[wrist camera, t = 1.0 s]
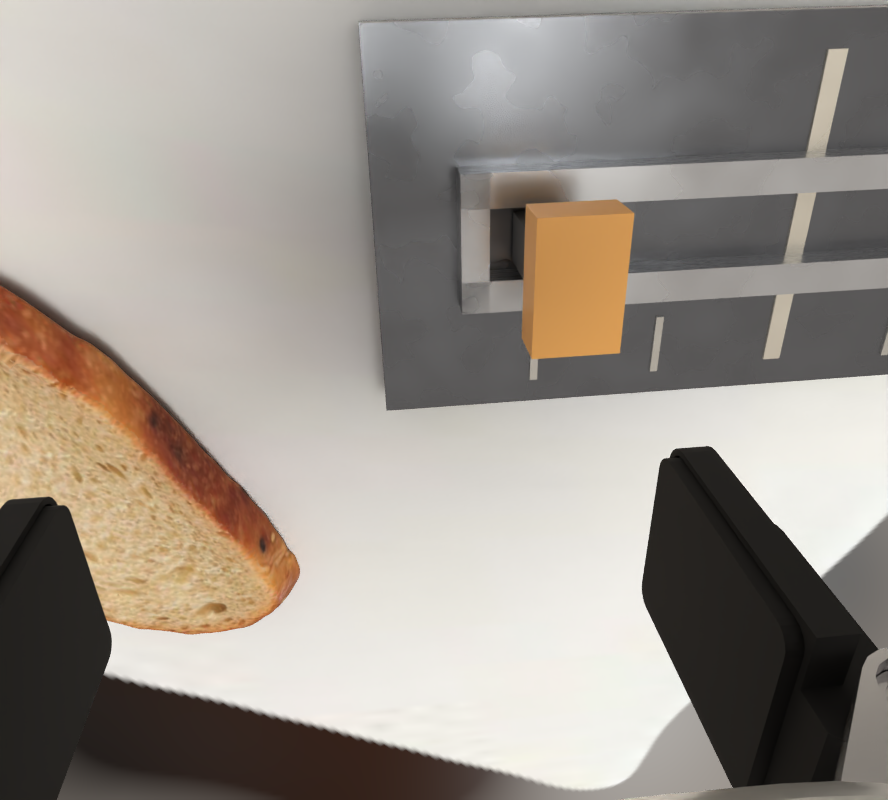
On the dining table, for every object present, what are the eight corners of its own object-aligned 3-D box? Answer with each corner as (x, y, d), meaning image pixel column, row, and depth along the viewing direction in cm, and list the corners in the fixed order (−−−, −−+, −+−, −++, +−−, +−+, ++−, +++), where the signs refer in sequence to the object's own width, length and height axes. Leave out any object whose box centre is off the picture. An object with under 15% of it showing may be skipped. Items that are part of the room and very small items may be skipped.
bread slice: (298, 613, 38) (293, 672, 34) (-82, 607, 35) (-127, 670, 32) (312, 286, 29) (306, 322, 26) (-188, 244, 27) (-265, 279, 23)
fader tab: (581, 171, 26) (634, 213, 21) (573, 289, 28) (620, 353, 23) (502, 174, 25) (537, 218, 20) (500, 294, 27) (531, 359, 23)
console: (1075, -1, 26) (1159, -1, 24) (952, 347, 33) (1006, 380, 31) (358, 21, 24) (358, 24, 22) (385, 387, 31) (387, 425, 29)
